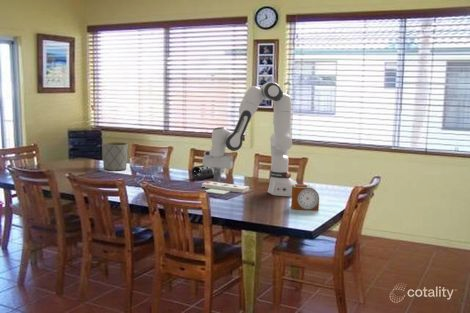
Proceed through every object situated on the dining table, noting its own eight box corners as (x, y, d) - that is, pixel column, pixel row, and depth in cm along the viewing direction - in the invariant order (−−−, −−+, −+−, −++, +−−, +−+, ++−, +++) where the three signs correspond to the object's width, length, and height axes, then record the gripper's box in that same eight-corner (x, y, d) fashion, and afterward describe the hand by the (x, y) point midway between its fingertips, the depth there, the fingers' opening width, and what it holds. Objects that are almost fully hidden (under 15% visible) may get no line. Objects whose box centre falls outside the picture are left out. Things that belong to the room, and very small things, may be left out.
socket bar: (249, 190, 349) (249, 185, 349) (242, 192, 340) (242, 188, 340) (208, 185, 362) (208, 180, 361) (201, 187, 353) (201, 182, 352)
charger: (220, 180, 340) (221, 168, 339) (217, 181, 336) (218, 169, 335) (216, 180, 341) (216, 167, 340) (213, 181, 338) (213, 168, 337)
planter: (132, 169, 410) (132, 144, 407) (112, 172, 396) (112, 145, 393) (117, 166, 423) (117, 141, 420) (97, 168, 408) (97, 143, 406)
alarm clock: (292, 209, 300) (293, 186, 298) (290, 206, 308) (292, 183, 306) (318, 210, 300) (320, 187, 298) (316, 207, 308) (317, 184, 307)
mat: (229, 192, 341) (229, 191, 341) (223, 194, 333) (223, 193, 333) (210, 189, 347) (210, 188, 347) (203, 191, 339) (203, 191, 339)
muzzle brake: (190, 179, 380) (191, 165, 379) (215, 174, 403) (215, 161, 401) (201, 181, 375) (201, 166, 373) (225, 176, 397) (225, 162, 396)
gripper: (235, 153, 335) (234, 175, 337) (206, 150, 344) (205, 172, 345) (230, 154, 329) (229, 176, 331) (201, 151, 338) (201, 173, 340)
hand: (217, 174), depth 338 cm, fingers closed on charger, 3 cm apart
